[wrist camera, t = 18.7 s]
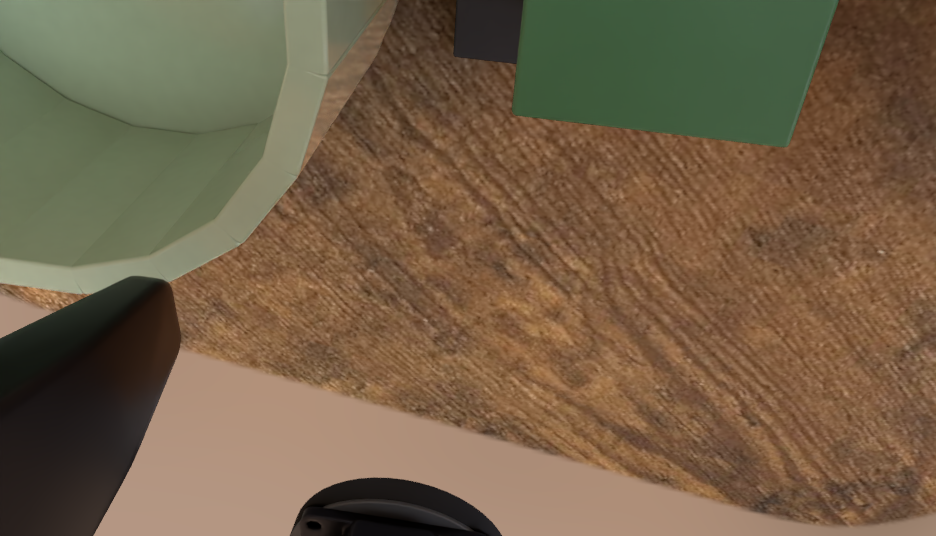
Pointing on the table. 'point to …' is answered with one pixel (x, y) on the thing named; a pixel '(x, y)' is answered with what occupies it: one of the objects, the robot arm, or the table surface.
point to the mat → (488, 29)
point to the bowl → (161, 126)
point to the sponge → (672, 64)
